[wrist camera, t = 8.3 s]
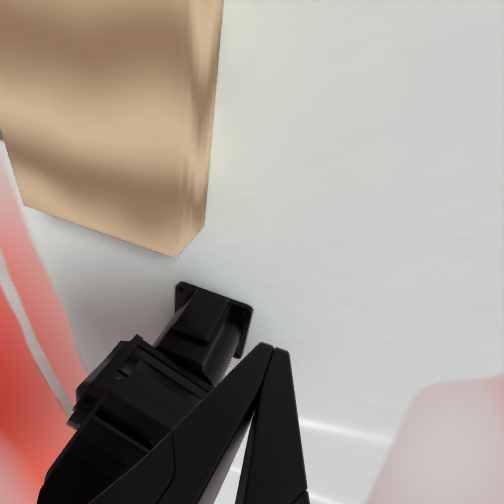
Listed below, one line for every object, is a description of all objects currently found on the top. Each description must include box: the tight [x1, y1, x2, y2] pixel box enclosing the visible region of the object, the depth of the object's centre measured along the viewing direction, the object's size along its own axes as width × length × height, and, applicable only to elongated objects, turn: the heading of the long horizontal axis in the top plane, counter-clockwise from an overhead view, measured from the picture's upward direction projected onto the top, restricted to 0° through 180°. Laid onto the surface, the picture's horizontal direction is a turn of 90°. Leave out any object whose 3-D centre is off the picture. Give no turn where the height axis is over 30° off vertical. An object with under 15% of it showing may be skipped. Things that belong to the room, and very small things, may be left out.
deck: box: [0, 0, 223, 258], centre depth 16 cm, size 20×11×4 cm, turn 170°
